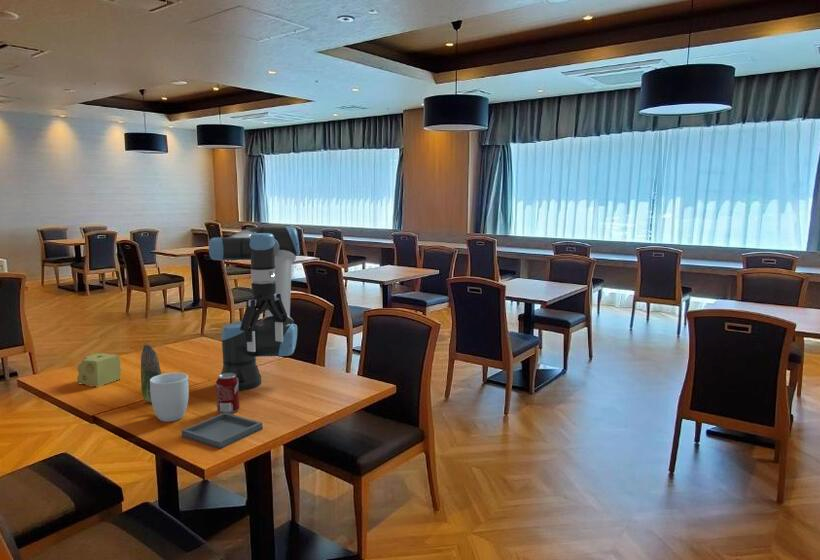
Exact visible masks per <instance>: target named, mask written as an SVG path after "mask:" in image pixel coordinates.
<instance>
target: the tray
mask: <svg viewBox="0 0 820 560" xmlns="http://www.w3.org/2000/svg"><path fill="white" fill-rule="evenodd" d="M262 430H263V422H261V421H257V420H254V419H251V418H246V417H243V416H239V415H235V414H233V413H230V414H229V413H219V414H218V415H215V416H212V417H211V418H208V419H205V420H203V421H201V422H198V423H196V424H193V425H190V426H188V427H185V428H184V429H181V431H180V432H181V438H185V439H188V440H190V441H194V442H197V443H200V444H203V445H206V446H208V447H209V446H210V447H212V448H215V449H219V450H222V449H223V448H226V447H228V446H230V445H232V444H234V443H237V442H239V441H240V440H242V439H245V438H247V437H249V436H250V435H253V434H255V433H257V432H259V431H262Z"/></svg>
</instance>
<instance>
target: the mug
mask: <svg viewBox="0 0 820 560" xmlns="http://www.w3.org/2000/svg"><path fill="white" fill-rule="evenodd" d="M189 387H190V386H189V376H188V374H186V373H183V372H167V373H161V375H157V376H154V377H152V378H151V379H150V394H151V401H152V402H151V406H152V408H153V412H154V414H155V416H156V418H158V420H160V421H161V422H166V423H167V422H168V423H169V422H176V421H178V420H181V419H183V417H184V415H185V413H186V412H187V409H188V408H187V407H188V403H189V399H190V398H189V390H190V389H189Z"/></svg>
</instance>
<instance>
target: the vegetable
mask: <svg viewBox="0 0 820 560" xmlns="http://www.w3.org/2000/svg"><path fill="white" fill-rule="evenodd" d="M160 366H161V365H160V361H159V358H158V355H157V352H156V351H155V350H154V349H153V348H152V346H151V345H150V344H144V345H143V346H142V351H141V355H140V383H141V385H140V386H141V396H142V399H143V400H144V401H145V402H147V403H151V404H152V401H151V394H150V379H151V378H152V377H154V376H157V375H161V374H162V373H161V372H162V371H161V367H160Z"/></svg>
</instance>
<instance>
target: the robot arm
mask: <svg viewBox="0 0 820 560" xmlns="http://www.w3.org/2000/svg"><path fill="white" fill-rule="evenodd" d="M208 242H209V243H208V254H209V257H210V259H211V260H213V261H221V262H222V261H249V260H250V279H251V282H252V283H251V294H252V295H253V299H246V307H245V310H244V313H243V317H242V320H240V321H235V322H234V321H233V322H231V323H229V324H227V325H225V326H223V328H222V330H221V338H220V339H221V340H220V341H221V346H222V347H221V350H222V368H221V371H220V372H221V373H220V374H223V373H235V374H236V377H237V379H238V386H239V391H244V390H250V389H253V388H257V387H259V386H260V385H261V384H262V375H261V374H260V370H259V367H258V363H257V361H256V360H257V357H259V358H260V357H262V358H263V357H264V358H265V357H286V356H287V357H288V356H291V355H293V354H294V352H295V350H296V347H297V340H298V325H297V324H295V323H294V319H293V318H292V317H291V295H292V294H291V290H292V289H291V287H292V269H293V268H292V265H293V263H294V262H295V261H296V260H297V259H296V258H297V257H298V256H300V254H301V253H300V252H301V251H300V243H299V236H298V230H297V229H296V228H295V227H294V226H256V227H255V226H254V227H250V228H246V229H242V230H240V231H238V232H236V233H235V234H234V235H231V236H228V237H227V236H226V237H221V236H219V237H212V238H211V239H210V240H209V241H208ZM264 312H266V316H264V317H263V318H261V319H262V320H261V324H257V323H258V320H259V318H260V317H261V314H263V313H264Z"/></svg>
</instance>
